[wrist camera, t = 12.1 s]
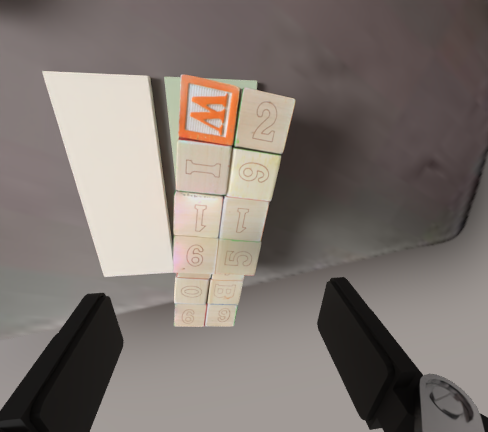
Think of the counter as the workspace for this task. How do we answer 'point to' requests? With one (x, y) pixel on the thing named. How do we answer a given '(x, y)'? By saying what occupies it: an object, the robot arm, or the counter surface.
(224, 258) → the stack of blocks
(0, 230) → the counter surface
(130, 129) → the cream mat
